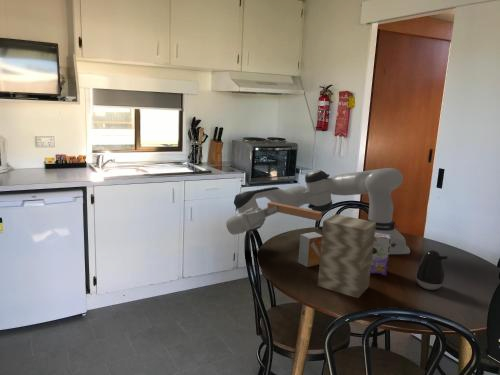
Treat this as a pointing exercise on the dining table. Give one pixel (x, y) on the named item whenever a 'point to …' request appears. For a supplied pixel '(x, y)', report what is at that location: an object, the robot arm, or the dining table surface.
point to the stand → (346, 254)
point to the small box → (310, 249)
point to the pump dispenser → (431, 270)
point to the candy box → (380, 253)
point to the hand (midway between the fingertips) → (279, 206)
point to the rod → (296, 211)
